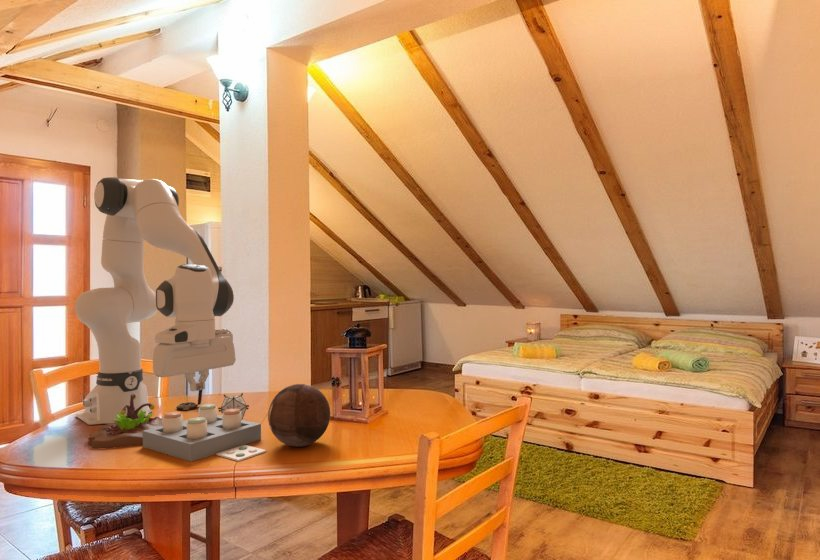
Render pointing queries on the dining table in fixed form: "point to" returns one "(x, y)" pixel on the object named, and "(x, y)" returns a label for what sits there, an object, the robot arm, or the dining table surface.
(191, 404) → the compass
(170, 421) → the button
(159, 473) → the dining table surface
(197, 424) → the button
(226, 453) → the card
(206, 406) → the button
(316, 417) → the wooden sphere
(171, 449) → the grey grid tray
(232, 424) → the button
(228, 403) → the wireframe polyhedron
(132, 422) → the plant
